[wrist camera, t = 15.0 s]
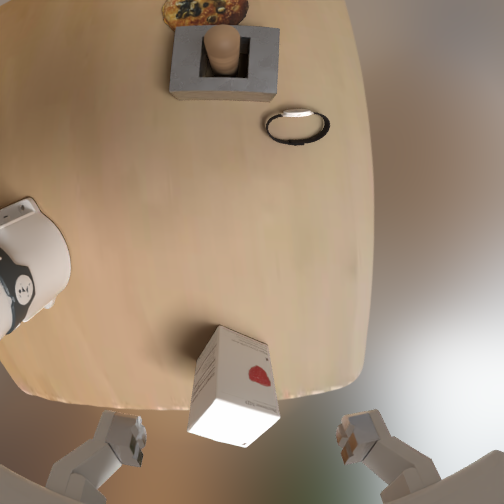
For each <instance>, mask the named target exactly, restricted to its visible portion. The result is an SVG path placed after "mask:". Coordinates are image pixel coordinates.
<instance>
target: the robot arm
mask: <svg viewBox="0 0 504 504" xmlns="http://www.w3.org/2000/svg"><path fill="white" fill-rule="evenodd" d="M23 206H24V208H23ZM70 271H71V263H70V256H69V251H68V248H67V245H66V243H65V240H64V238H63V236H62V234H61V233H60V231H59V230H58V228H57V227H56V226H55V225H54V223H53V222H52V221H51V220H49V219H48V218H47V217H46V216H44V215H43V214H42V213H41V212H40V210H39V208H38V206H37V205H36V203H35V201H34V200H33V199H32V198H30V197H29V198H26V199H23V200H21V201H18V202H16V203H14V204H11V205H9V206H7V207H5V208H2V209H0V340H1V339H2V338H3V336H4V335H7V334H10V333H11V332H12V331H13V330H15V329H16V328H17V327H18V326H19V325H20V323H21V322H22V321H23V322H27V321H28V320H30V319H31V318H32V317H33V316H34V315H35V314H37V313H38V312H39V311H40V310H41V309H43V308H46V309H49V308H51V307H52V306H53V305H54V302H55V299H56V296H57V295H58V294H59V293H60V292H61V291H62V290H63V289H64V288H65V287H66V285H67V283H68V281H69V278H70ZM341 421H342V424H340V425H339V426H338V428H337V430H336V439H337V443H338V445H339V446H340V447H342V448H343V449H342V451H341V456H342V459H343V462H344V465H346V464H352V463H356V462H361V461H363V463H364V464H365V465H366V466H367V467H368V468H369V469H371V470H372V471H373V472H374V473H375V474H376V475H378V476H379V477H380V478H381V479H382V480H383V481H385V482H386V483H387V484H388V485H389V486H387V487H386V488H385V489H384V490H383V491H382V492H381V494H380V495H381V498H382V501H383V504H504V452H501V451H498V450H494V451H492V452H490V453H488V454H487V455H485V456H483V457H482V458H480V459H479V460H477V461H475V462H474V463H472V464H471V465H469V466H467V467H465V468H463V469H462V470H460V471H458V472H456V473H454V474H453V475H451V476H449V477H447V478H445V479H443V480H441V478H440V476H439V474H438V472H437V470H436V468H435V465H434V463H433V462H432V459H430V458H428V457H427V456H425V455H424V454H422V453H420V452H419V451H417V450H415V449H414V448H412V447H410V446H409V445H407V444H406V443H404V442H402V441H401V440H399V439H398V438H396V437H391V435H390V433H389V431H388V429H387V427H386V425H385V423H384V420H383V418H382V416H381V414H380V412H379V411H378V410H376V409H375V410H371V411H364V412H359V413H354V414H348V415H345V416H343V417H342V419H341ZM141 423H142V419H141V417H140V416H136V415H130V414H124V413H119V412H115V411H109V410H105V411H104V412H103V413H102V416H101V418H100V421H99V424H98V426H97V429H96V432H95V435H94V438H93V439H89V440H87V441H86V442H85V443H84V444H82V445H81V446H79V447H78V448H76V449H75V450H73V451H72V452H70V453H69V454H68V455H66V456H65V457H63V458H62V459H60V460H59V461H57V462H56V463H54V464H53V467H52V469H51V472H50V475H49V478H48V480H47V483H46V487H43V486H40V485H38V484H36V483H34V482H32V481H30V480H28V479H26V478H24V477H22V476H20V475H18V474H17V473H15V472H13V471H11V470H9V469H8V468H6V467H5V466H3V465H1V464H0V504H106V498H105V496H104V495H102V494H101V493H100V492H99V491H98V490H97V489H98V488H99V486H101V485H102V484H103V483H104V482H105V481H106V480H107V479H108V478H109V477H110V476H111V475H112V474H113V473H114V472H115V471H116V470H117V469H118V468H119V467H120V466H121V465H122V464H125V465H130V466H136V467H141V463H142V459H143V453H142V451H141V449H142V448H144V447H145V444H146V430H145V427H144V426H143V425H141Z"/></svg>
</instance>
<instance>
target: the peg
mask: <svg viewBox="0 0 504 504" xmlns="http://www.w3.org/2000/svg"><path fill="white" fill-rule="evenodd" d="M204 44H205V47H206V51H207V54H208V57H209V61H210V64H211V68H212V71H213V75H214V77H226V78H236V77H237V75H238V63H239V48H240V34H239V32H238V31H237V30H236V29H235V28H234V27H232V26H230V25H225V24H221V25H216V26H214V27H212V28H210V29H209V30H208V31H207V32H206V34H205V36H204Z"/></svg>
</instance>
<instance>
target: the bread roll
mask: <svg viewBox="0 0 504 504" xmlns="http://www.w3.org/2000/svg"><path fill="white" fill-rule="evenodd" d="M248 8H249V6H248V0H167V2H166V3H165V4H164V6H163V9H162V12H163V16H164V19H163V20H164V22H165V23H166V24H168V25H169V27H171V29H172V30H173V31H175V30H176V27H180V26H198V25H221V24H225V25H238V24H239V23H240V22H241V21H242V20H243V18H245V17H246V13H247V10H248Z"/></svg>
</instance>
